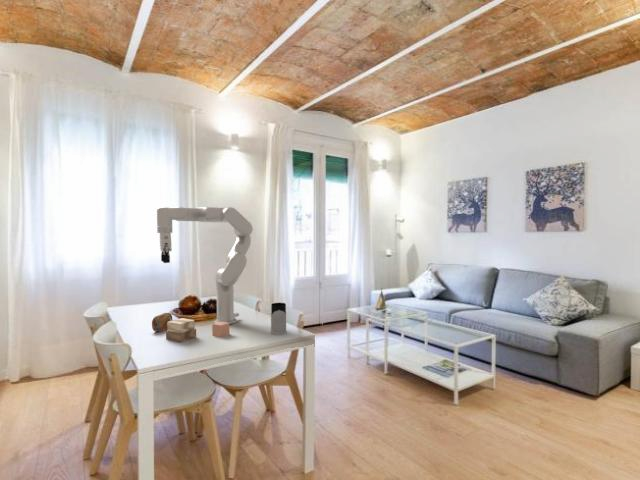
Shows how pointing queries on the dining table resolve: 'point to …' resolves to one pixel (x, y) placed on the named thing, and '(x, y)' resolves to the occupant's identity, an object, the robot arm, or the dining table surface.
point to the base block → (180, 335)
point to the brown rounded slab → (161, 322)
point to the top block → (180, 325)
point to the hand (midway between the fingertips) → (165, 262)
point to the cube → (220, 329)
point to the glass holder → (278, 319)
